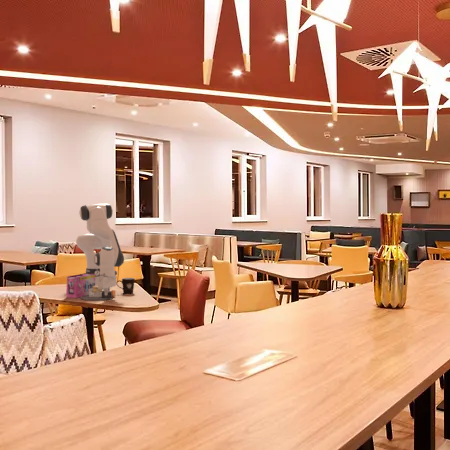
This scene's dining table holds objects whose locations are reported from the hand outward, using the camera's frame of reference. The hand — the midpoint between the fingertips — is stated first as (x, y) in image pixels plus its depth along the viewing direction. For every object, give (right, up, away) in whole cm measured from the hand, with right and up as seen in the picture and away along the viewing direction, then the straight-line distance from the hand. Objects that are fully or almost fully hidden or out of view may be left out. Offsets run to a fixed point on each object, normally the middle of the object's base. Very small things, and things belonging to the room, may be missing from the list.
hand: (106, 295), depth 353 cm
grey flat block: (-4, -2, +5) cm, 7 cm away
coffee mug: (+7, -3, +31) cm, 32 cm away
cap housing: (-8, -3, +8) cm, 11 cm away
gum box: (-21, -3, +18) cm, 28 cm away
